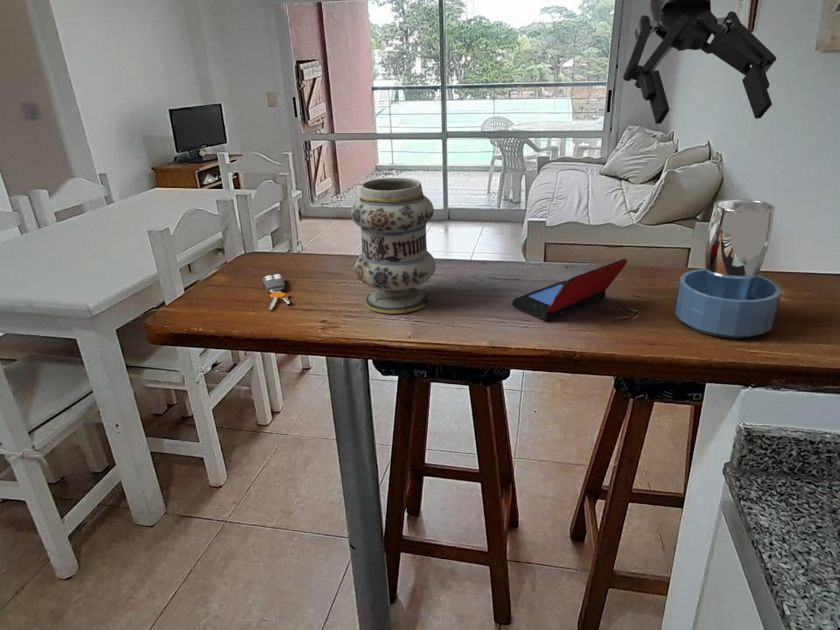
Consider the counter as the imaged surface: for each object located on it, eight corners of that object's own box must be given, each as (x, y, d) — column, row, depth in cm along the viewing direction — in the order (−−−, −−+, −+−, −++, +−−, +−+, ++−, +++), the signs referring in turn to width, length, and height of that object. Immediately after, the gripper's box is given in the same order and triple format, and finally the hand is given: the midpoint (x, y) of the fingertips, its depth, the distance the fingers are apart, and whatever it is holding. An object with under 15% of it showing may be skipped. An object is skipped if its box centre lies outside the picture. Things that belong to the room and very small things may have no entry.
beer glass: (681, 312, 78) (699, 203, 72) (719, 302, 80) (740, 195, 74) (725, 332, 72) (748, 215, 66) (764, 320, 74) (790, 207, 68)
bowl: (728, 300, 83) (735, 264, 80) (793, 334, 72) (803, 294, 70) (656, 310, 80) (662, 274, 78) (713, 347, 70) (721, 306, 68)
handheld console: (567, 285, 90) (570, 240, 87) (624, 306, 82) (630, 257, 79) (508, 306, 84) (509, 258, 81) (564, 331, 76) (568, 279, 73)
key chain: (261, 283, 97) (259, 274, 96) (283, 279, 98) (282, 271, 97) (269, 311, 86) (267, 302, 85) (294, 307, 87) (293, 298, 86)
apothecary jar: (427, 320, 81) (422, 193, 73) (347, 315, 83) (334, 192, 76) (443, 288, 91) (440, 174, 84) (371, 285, 94) (362, 174, 86)
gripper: (746, 13, 87) (787, 127, 79) (584, 21, 86) (610, 137, 79) (775, -33, 80) (824, 89, 72) (599, -25, 79) (630, 99, 72)
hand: (713, 114), depth 75 cm, fingers open, 13 cm apart
